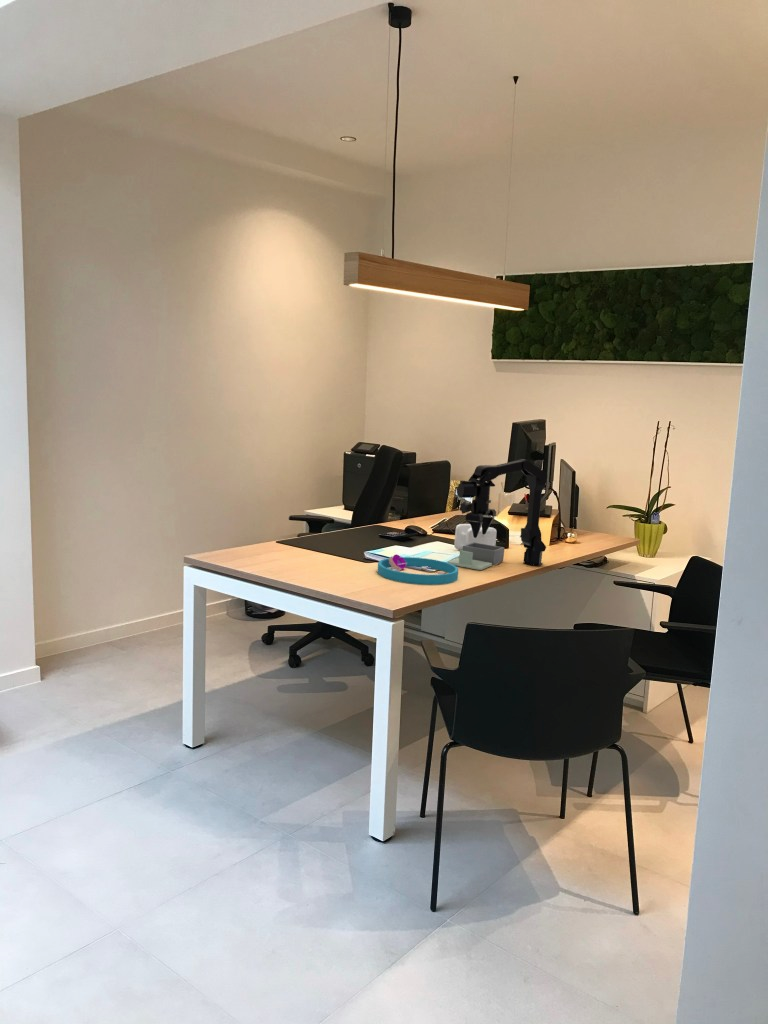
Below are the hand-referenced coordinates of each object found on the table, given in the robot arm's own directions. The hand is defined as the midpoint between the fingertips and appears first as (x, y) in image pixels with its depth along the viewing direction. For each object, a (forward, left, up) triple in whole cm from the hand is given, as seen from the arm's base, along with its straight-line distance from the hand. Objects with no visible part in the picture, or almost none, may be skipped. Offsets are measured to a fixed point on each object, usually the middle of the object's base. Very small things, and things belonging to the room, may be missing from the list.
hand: (479, 535), depth 330 cm
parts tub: (+2, -10, -12) cm, 16 cm away
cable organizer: (+12, -25, -12) cm, 31 cm away
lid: (+2, +3, -12) cm, 13 cm away
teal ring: (+10, +34, -13) cm, 37 cm away
